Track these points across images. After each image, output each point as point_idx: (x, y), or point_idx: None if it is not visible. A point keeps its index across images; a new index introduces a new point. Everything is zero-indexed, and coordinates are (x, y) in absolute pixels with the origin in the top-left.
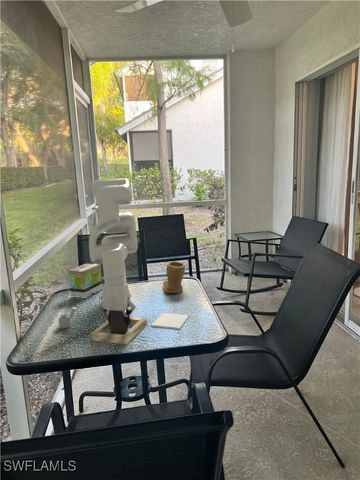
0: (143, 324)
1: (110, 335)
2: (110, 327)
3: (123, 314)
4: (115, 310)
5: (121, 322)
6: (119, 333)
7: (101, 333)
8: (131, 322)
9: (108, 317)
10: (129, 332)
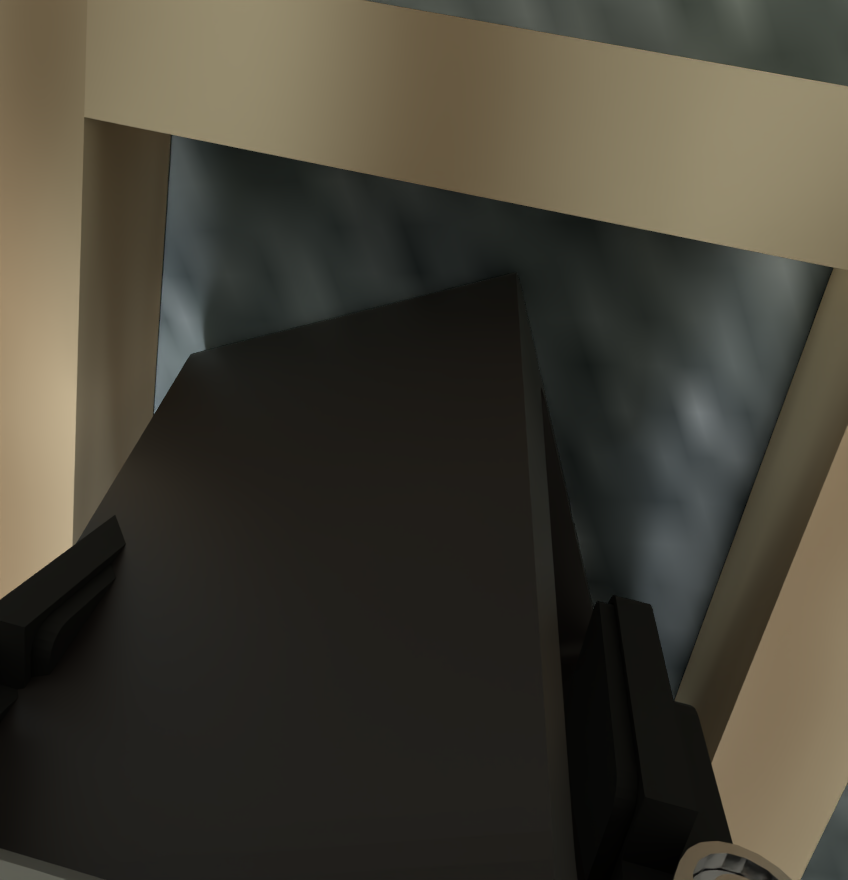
0: None
1: (439, 65)
2: None
3: (9, 760)
4: (73, 877)
5: (195, 532)
6: (325, 345)
7: (764, 189)
8: None
9: (674, 764)
10: (14, 263)
